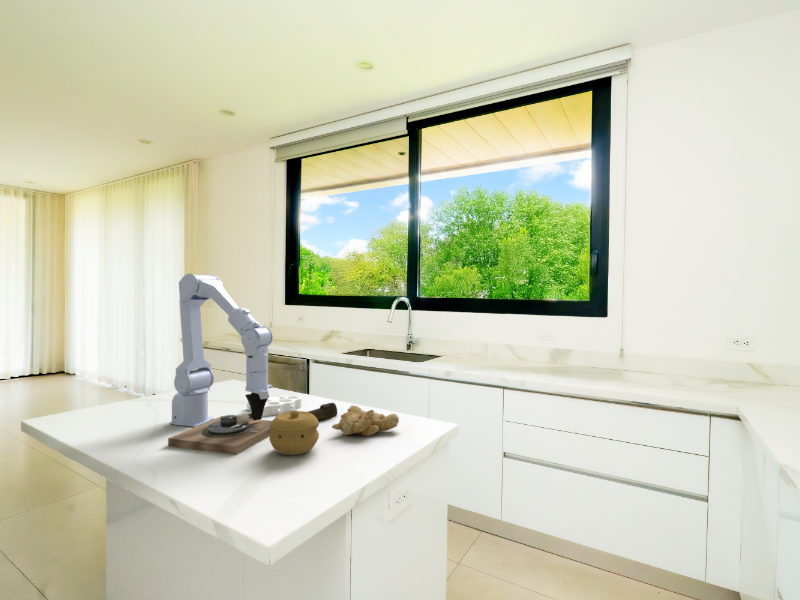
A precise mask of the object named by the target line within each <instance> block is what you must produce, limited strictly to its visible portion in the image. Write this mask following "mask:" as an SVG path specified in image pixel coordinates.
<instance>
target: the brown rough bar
mask: <svg viewBox="0 0 800 600" xmlns="http://www.w3.org/2000/svg"><path fill="white" fill-rule="evenodd" d="M307 412H309V413H311V414H313V415H314V416H315V417H316V418H317V419H318V421H319V420H320V421H321V420H323V421H325V420H329V419H332V418H334V417H337V415H338V408H337V404H336V403H334V402H328V403H324V404H321V405H320V406H319V407H318V408H315V409H313V410H309V411H307Z"/></svg>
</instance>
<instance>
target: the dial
mask: <svg viewBox="0 0 800 600" xmlns="http://www.w3.org/2000/svg"><path fill="white" fill-rule="evenodd" d="M221 416H222V417H221ZM221 416H220V417H221V418H220V421H217V422H214V423H212V424H210V425H209V426H208V432H209V433H211V434H218V435H224V434H233V433H238V432H241V431H244V430H246V429H247V428H248V421H250V420H253V418H252V413H251V411H248V412H244V413H239V414H235V415H234V414H227V415H226V414H225V415H221Z"/></svg>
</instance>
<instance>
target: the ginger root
mask: <svg viewBox="0 0 800 600" xmlns="http://www.w3.org/2000/svg"><path fill="white" fill-rule="evenodd" d="M399 419H400V417H399V416H398V414H396V413H391V414H388V415H386V416H385V414H383V413H378V412H375V410H374V409H370V410H367V411H365V410H363V409H362V408H361V407H360V406H357V405H351V406H349V407H348V408H347V411H346V412H344V413H343V414H341V415H340V420H339V422H338V423H335V424H332V426H331V428H332V429H333V430H337V431H338V430H340V432H342V434H344V435H345V436H349V435H353V434H358V435H362V436H365V437H370V436H372V435H374V434H376V433H378V432H384V431H385V432H386V431H389V430H392V429H394V428H396V427H398V424H399V423H400V422H399Z"/></svg>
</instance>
